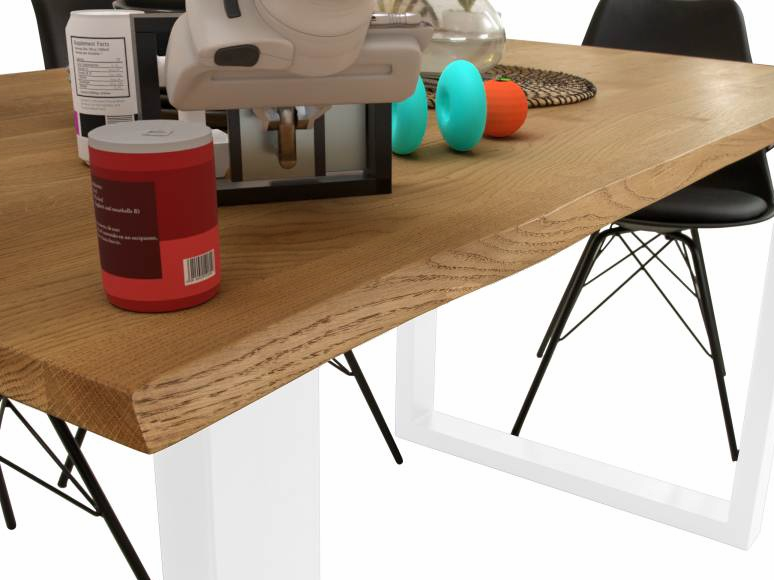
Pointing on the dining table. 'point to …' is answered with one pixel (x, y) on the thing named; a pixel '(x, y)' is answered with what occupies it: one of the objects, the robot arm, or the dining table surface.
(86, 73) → the supplement can
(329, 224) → the dining table surface
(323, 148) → the window pane
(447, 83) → the donuts
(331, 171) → the window frame
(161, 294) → the canned food
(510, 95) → the clementine
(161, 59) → the white faucet
